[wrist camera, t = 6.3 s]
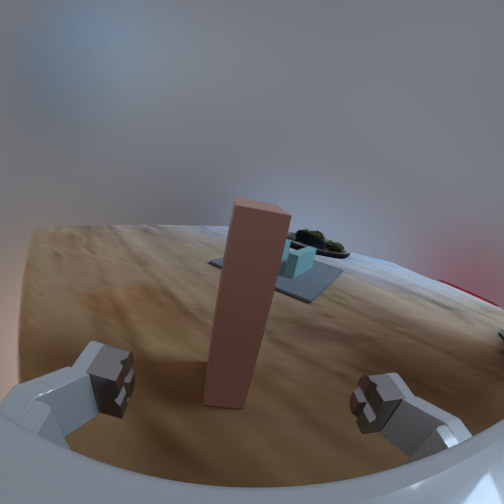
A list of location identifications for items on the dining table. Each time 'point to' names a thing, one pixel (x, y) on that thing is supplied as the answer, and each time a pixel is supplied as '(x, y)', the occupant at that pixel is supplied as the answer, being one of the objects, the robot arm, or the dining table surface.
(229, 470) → the dining table surface
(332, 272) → the mat
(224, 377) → the salmon orange block
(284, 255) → the slotted rack
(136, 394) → the dining table surface
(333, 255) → the salad plate
